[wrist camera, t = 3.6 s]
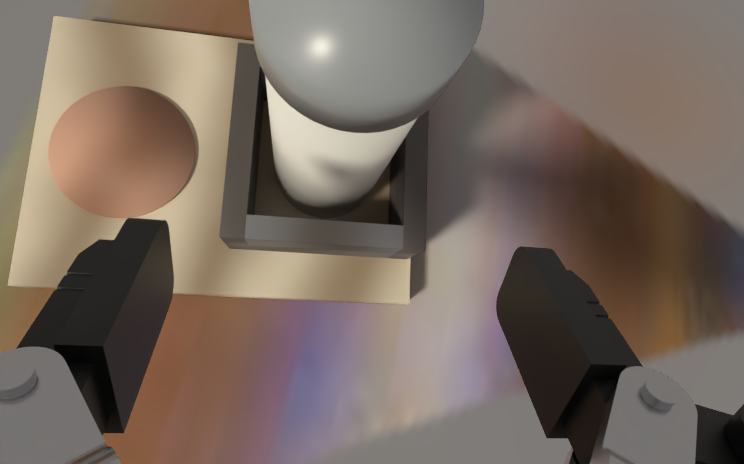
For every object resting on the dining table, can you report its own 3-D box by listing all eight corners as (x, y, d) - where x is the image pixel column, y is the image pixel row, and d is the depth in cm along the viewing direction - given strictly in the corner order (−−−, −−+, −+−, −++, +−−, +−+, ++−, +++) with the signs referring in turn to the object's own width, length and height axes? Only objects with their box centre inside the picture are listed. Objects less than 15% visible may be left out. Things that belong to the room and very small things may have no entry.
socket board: (25, 287, 23) (-46, 279, 18) (67, 33, 25) (14, -35, 20) (402, 304, 26) (429, 301, 21) (409, 74, 28) (434, 23, 23)
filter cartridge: (266, 218, 24) (235, 84, 10) (274, 113, 25) (257, -138, 11) (376, 225, 25) (484, 111, 11) (380, 124, 26) (483, -97, 12)
